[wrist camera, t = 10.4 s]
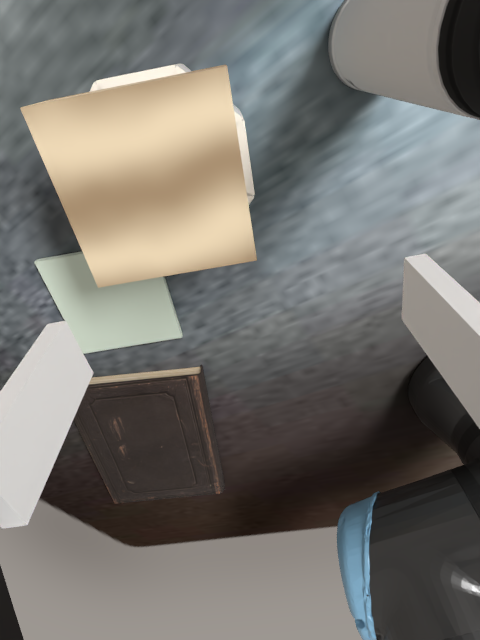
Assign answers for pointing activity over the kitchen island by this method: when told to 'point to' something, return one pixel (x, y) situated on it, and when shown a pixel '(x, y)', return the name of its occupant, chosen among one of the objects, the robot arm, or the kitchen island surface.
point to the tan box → (149, 175)
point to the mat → (108, 306)
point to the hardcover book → (152, 434)
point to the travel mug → (410, 51)
